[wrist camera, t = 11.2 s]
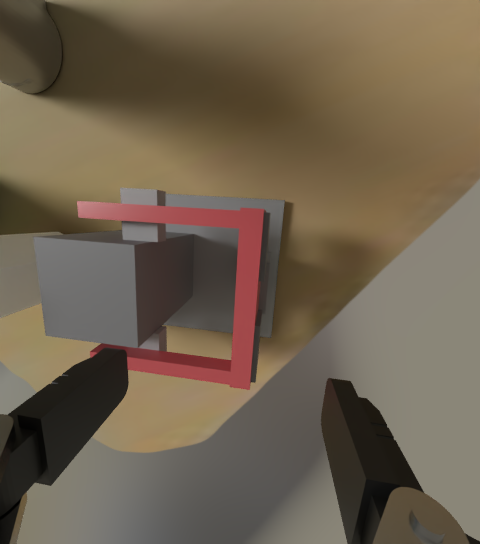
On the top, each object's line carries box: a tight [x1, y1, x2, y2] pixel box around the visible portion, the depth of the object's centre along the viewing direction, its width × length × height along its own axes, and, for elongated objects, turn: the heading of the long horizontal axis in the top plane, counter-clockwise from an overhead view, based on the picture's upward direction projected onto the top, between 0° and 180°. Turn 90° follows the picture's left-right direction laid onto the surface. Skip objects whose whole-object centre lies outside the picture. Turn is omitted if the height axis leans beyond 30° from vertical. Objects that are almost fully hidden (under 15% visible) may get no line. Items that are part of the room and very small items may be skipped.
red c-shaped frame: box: [77, 201, 271, 390], centre depth 21 cm, size 14×14×5 cm
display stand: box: [33, 188, 285, 371], centre depth 24 cm, size 19×17×14 cm
